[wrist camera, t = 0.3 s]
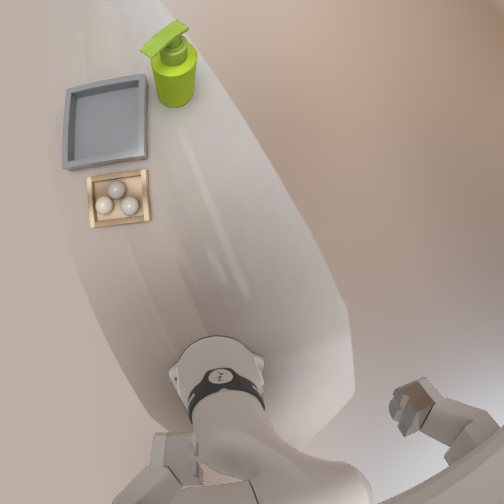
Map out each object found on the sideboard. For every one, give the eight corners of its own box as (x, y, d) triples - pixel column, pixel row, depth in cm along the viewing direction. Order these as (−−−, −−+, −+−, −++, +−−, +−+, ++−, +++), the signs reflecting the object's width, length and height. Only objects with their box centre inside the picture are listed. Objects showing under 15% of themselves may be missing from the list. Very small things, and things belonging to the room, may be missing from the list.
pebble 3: (141, 213, 42) (138, 215, 39) (123, 216, 41) (119, 217, 39) (139, 195, 41) (136, 195, 39) (122, 197, 41) (117, 197, 38)
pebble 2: (128, 198, 41) (124, 198, 38) (110, 200, 40) (105, 200, 38) (126, 179, 40) (122, 178, 38) (109, 182, 40) (104, 181, 37)
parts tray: (151, 219, 43) (149, 220, 41) (95, 226, 41) (90, 227, 39) (147, 170, 42) (145, 169, 39) (91, 178, 39) (86, 177, 37)
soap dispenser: (147, 99, 39) (126, 39, 20) (176, 71, 39) (175, 3, 20) (171, 118, 41) (163, 66, 22) (200, 90, 41) (212, 27, 22)
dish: (147, 158, 41) (144, 155, 38) (70, 170, 38) (62, 168, 35) (147, 81, 38) (145, 73, 35) (73, 95, 35) (66, 89, 32)
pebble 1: (115, 213, 41) (111, 214, 38) (99, 215, 40) (93, 216, 37) (114, 194, 40) (109, 194, 37) (97, 197, 40) (92, 197, 37)
